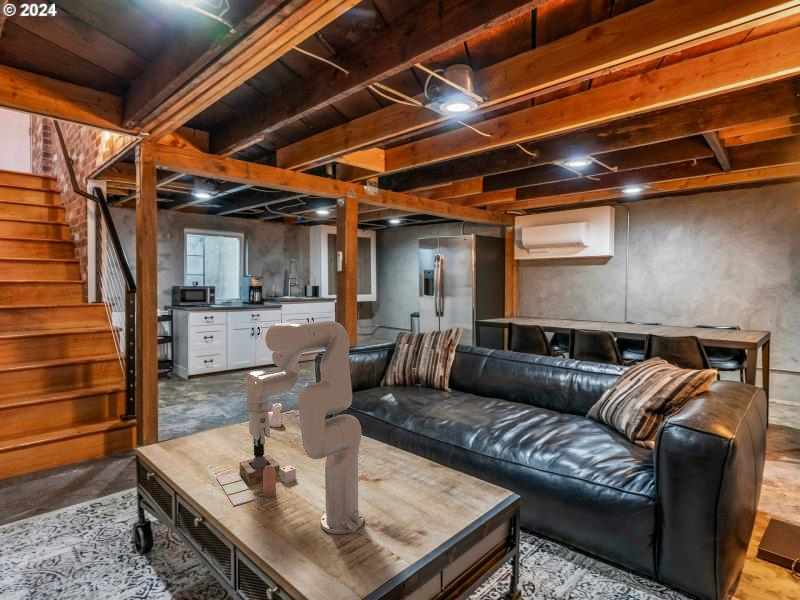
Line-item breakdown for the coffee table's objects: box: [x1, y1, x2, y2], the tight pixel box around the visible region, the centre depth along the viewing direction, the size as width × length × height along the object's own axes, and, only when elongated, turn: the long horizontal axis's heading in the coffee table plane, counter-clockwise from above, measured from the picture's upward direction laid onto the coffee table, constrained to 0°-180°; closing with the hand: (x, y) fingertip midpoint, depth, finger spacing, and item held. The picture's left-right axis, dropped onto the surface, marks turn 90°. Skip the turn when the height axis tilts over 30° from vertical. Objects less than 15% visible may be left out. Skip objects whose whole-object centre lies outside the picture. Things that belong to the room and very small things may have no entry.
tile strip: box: [216, 471, 257, 507], centre depth 148 cm, size 23×7×1 cm, turn 36°
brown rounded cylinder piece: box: [262, 466, 277, 499], centre depth 143 cm, size 4×4×10 cm
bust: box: [268, 402, 285, 428], centre depth 210 cm, size 12×8×11 cm
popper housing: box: [239, 454, 281, 485], centre depth 158 cm, size 11×11×4 cm
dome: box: [252, 455, 267, 469], centre depth 158 cm, size 5×5×6 cm
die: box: [279, 464, 297, 484], centre depth 154 cm, size 4×4×4 cm
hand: (259, 455), depth 158 cm, fingers closed
